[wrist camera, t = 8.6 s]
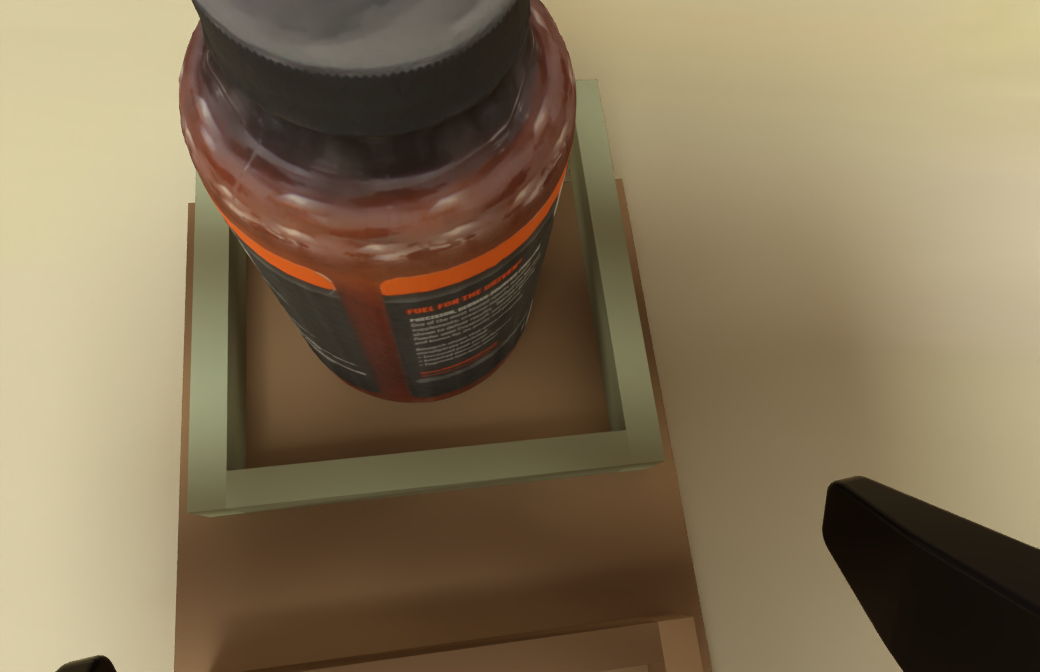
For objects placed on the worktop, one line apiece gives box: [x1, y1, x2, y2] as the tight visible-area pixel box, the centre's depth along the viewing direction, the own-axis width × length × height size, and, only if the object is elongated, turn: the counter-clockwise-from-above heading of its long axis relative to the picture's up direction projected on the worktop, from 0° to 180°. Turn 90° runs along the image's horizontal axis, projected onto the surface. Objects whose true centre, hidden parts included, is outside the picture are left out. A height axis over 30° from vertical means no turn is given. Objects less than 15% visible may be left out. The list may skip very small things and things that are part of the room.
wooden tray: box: [174, 79, 712, 672], centre depth 16 cm, size 25×12×2 cm, turn 7°
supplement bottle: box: [179, 0, 577, 403], centre depth 13 cm, size 6×6×11 cm
